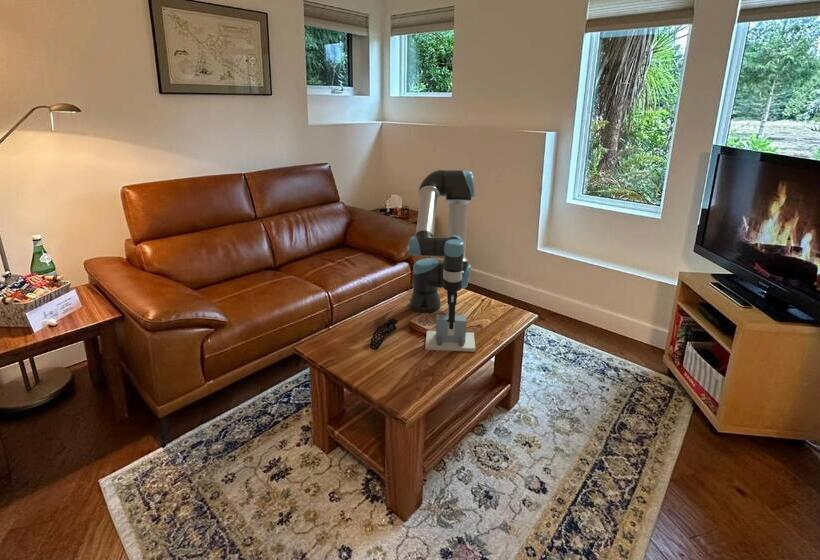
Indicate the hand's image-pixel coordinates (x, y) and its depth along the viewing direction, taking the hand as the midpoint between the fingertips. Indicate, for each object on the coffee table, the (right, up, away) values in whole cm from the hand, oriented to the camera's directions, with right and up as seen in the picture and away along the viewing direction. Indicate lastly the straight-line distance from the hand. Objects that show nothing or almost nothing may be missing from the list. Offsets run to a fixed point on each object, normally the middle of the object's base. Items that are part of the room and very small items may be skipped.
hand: (450, 326), depth 191 cm
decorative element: (-27, -6, +7) cm, 29 cm away
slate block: (0, -5, +2) cm, 6 cm away
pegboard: (0, -7, +2) cm, 7 cm away
